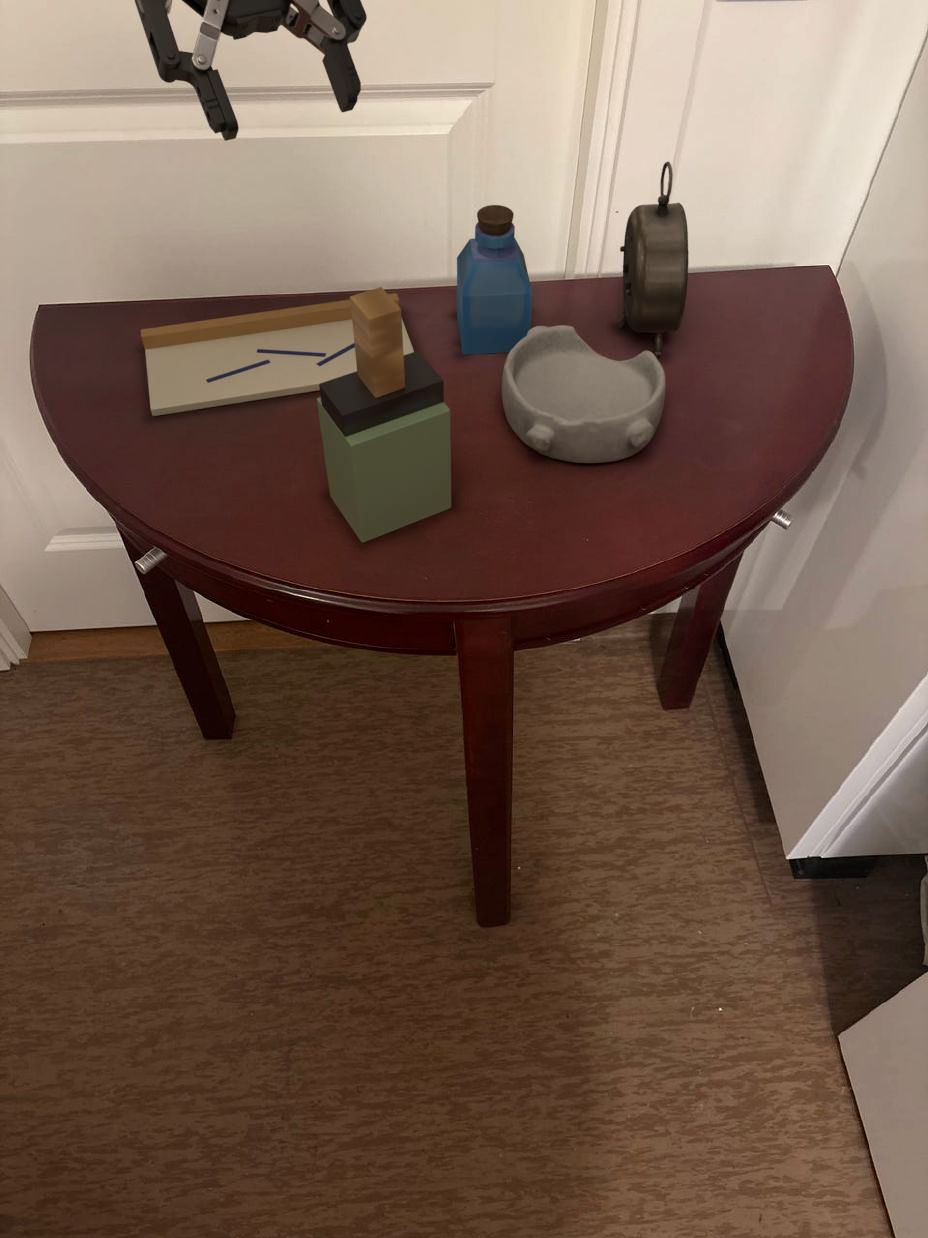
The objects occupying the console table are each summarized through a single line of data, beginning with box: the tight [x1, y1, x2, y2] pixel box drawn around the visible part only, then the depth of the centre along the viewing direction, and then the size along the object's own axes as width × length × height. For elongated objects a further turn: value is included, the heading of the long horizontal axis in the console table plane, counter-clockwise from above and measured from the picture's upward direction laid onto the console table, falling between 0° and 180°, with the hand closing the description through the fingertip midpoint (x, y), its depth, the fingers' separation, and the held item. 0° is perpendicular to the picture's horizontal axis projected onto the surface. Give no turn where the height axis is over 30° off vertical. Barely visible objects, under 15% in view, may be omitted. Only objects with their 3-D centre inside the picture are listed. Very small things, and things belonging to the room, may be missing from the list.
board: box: [140, 292, 415, 417], centre depth 92 cm, size 24×10×2 cm, turn 104°
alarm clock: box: [618, 161, 690, 358], centre depth 90 cm, size 11×5×16 cm, turn 179°
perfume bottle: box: [456, 204, 533, 356], centre depth 91 cm, size 6×6×12 cm
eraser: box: [319, 286, 445, 437], centre depth 70 cm, size 8×4×8 cm, turn 119°
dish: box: [501, 324, 667, 464], centre depth 86 cm, size 14×14×5 cm
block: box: [316, 396, 452, 544], centre depth 78 cm, size 8×6×10 cm
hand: (292, 120), depth 67 cm, fingers open, 8 cm apart
